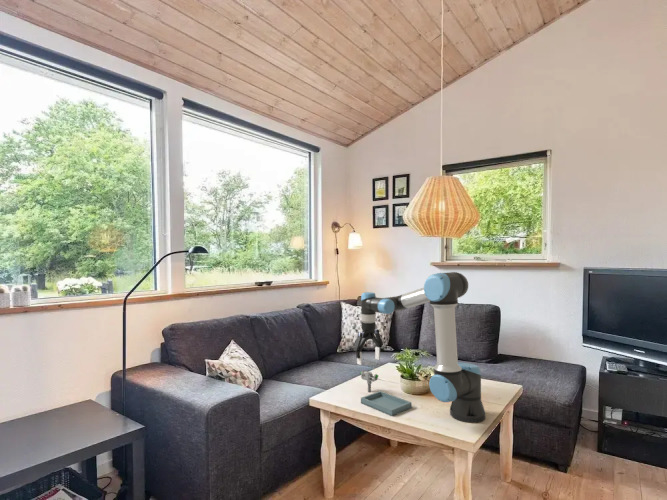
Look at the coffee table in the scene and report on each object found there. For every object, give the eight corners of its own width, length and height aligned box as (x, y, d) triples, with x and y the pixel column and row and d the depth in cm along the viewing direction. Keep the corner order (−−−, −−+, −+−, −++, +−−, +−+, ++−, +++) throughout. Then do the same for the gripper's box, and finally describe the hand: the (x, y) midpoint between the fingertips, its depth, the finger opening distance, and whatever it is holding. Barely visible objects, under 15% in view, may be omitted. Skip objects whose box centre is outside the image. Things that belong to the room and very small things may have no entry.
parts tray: (411, 407, 182) (411, 402, 182) (391, 416, 173) (391, 410, 173) (380, 395, 197) (380, 390, 197) (360, 403, 188) (360, 397, 188)
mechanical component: (376, 394, 199) (376, 375, 199) (359, 390, 205) (359, 371, 205) (379, 392, 201) (378, 373, 201) (362, 388, 207) (362, 370, 207)
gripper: (379, 317, 214) (379, 355, 214) (346, 323, 198) (346, 364, 198) (389, 319, 208) (389, 358, 209) (356, 325, 192) (356, 368, 193)
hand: (368, 361), depth 203 cm, fingers open, 13 cm apart
